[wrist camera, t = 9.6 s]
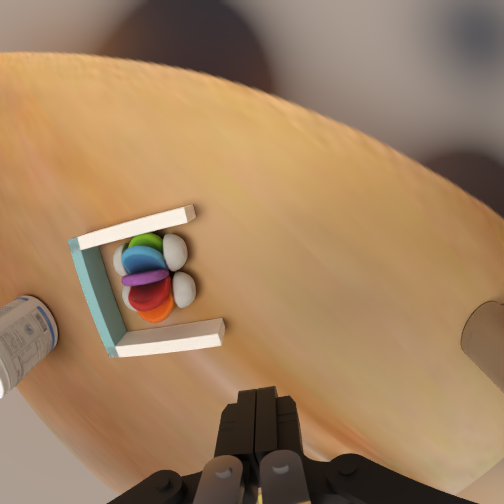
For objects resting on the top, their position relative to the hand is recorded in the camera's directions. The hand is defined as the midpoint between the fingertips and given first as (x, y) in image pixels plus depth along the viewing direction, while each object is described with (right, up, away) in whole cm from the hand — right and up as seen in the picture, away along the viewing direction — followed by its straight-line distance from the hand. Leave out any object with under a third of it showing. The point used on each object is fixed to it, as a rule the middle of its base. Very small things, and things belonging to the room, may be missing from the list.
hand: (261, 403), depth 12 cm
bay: (-12, +3, +23) cm, 26 cm away
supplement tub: (-33, -4, +26) cm, 42 cm away
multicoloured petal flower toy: (-11, +4, +23) cm, 26 cm away
